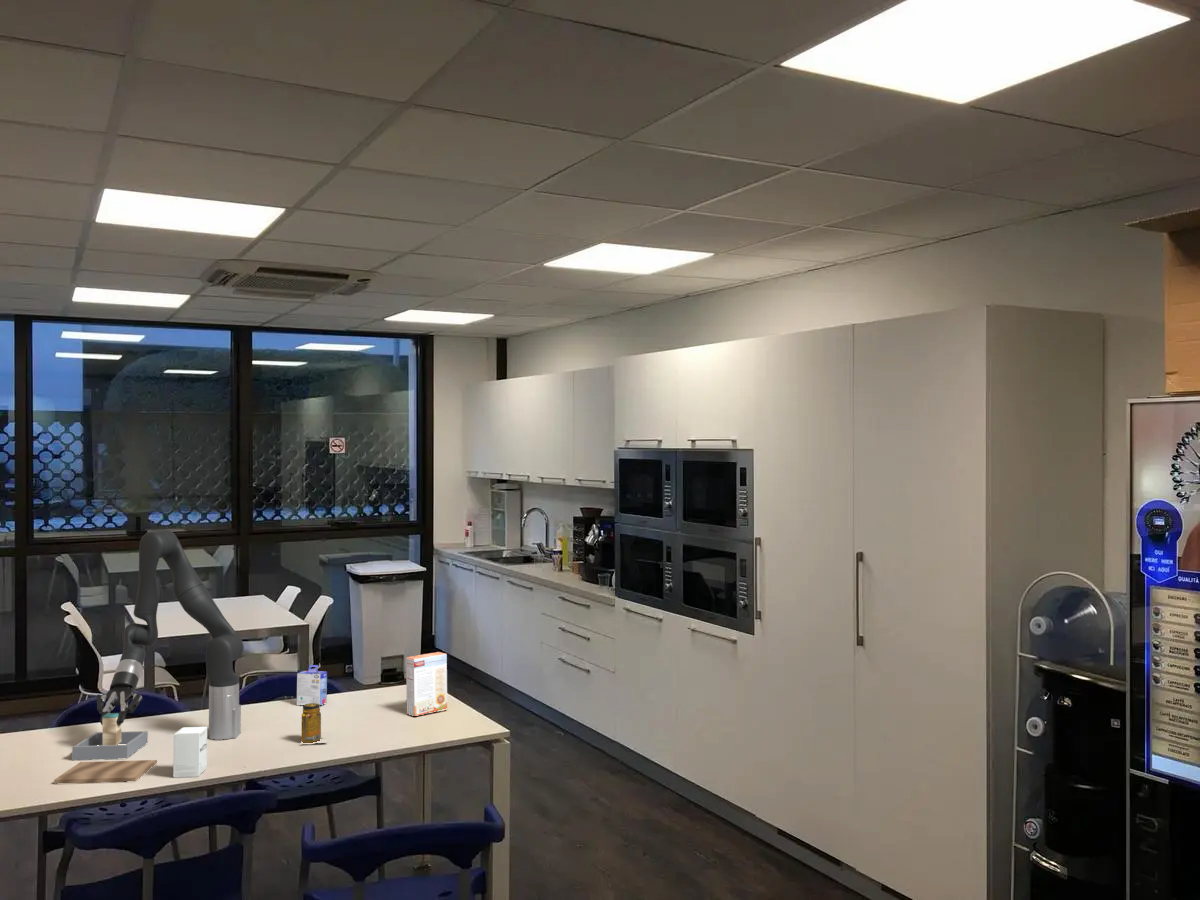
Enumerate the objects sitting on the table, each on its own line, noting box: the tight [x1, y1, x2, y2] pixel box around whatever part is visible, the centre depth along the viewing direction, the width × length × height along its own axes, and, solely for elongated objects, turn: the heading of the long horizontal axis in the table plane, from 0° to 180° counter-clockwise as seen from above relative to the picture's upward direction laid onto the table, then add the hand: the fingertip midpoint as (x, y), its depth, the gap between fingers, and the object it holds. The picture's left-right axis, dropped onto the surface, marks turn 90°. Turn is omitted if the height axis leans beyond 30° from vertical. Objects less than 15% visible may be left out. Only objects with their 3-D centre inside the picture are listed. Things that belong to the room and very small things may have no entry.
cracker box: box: [405, 651, 448, 717], centre depth 340 cm, size 14×6×21 cm, turn 133°
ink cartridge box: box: [296, 664, 328, 706], centre depth 352 cm, size 10×6×14 cm, turn 78°
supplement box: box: [172, 726, 208, 778], centre depth 273 cm, size 7×7×13 cm
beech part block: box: [101, 712, 122, 745], centre depth 294 cm, size 4×4×9 cm
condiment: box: [300, 703, 322, 743], centre depth 304 cm, size 7×8×12 cm
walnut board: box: [53, 759, 158, 784], centre depth 272 cm, size 22×16×1 cm
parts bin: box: [71, 730, 149, 761], centre depth 294 cm, size 16×16×4 cm
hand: (110, 724), depth 293 cm, fingers closed on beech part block, 4 cm apart
